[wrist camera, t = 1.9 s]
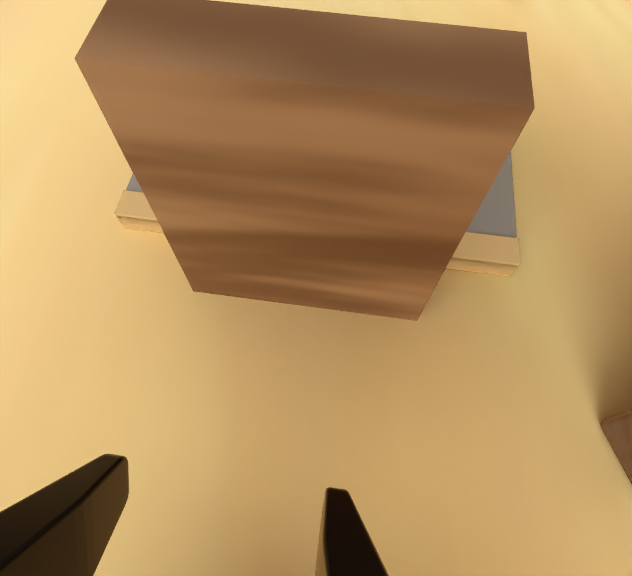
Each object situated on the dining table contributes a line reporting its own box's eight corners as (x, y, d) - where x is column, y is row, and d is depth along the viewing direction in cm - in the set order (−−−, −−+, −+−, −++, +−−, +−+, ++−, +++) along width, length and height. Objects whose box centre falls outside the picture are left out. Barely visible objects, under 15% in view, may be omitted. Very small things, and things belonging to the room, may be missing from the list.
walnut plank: (416, 320, 24) (534, 108, 11) (193, 291, 25) (74, 58, 12) (418, 271, 25) (526, 32, 13) (207, 244, 26) (112, -10, 13)
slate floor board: (509, 276, 25) (520, 263, 24) (123, 227, 26) (114, 213, 25) (496, 60, 33) (504, 42, 32) (201, 29, 34) (197, 11, 33)
